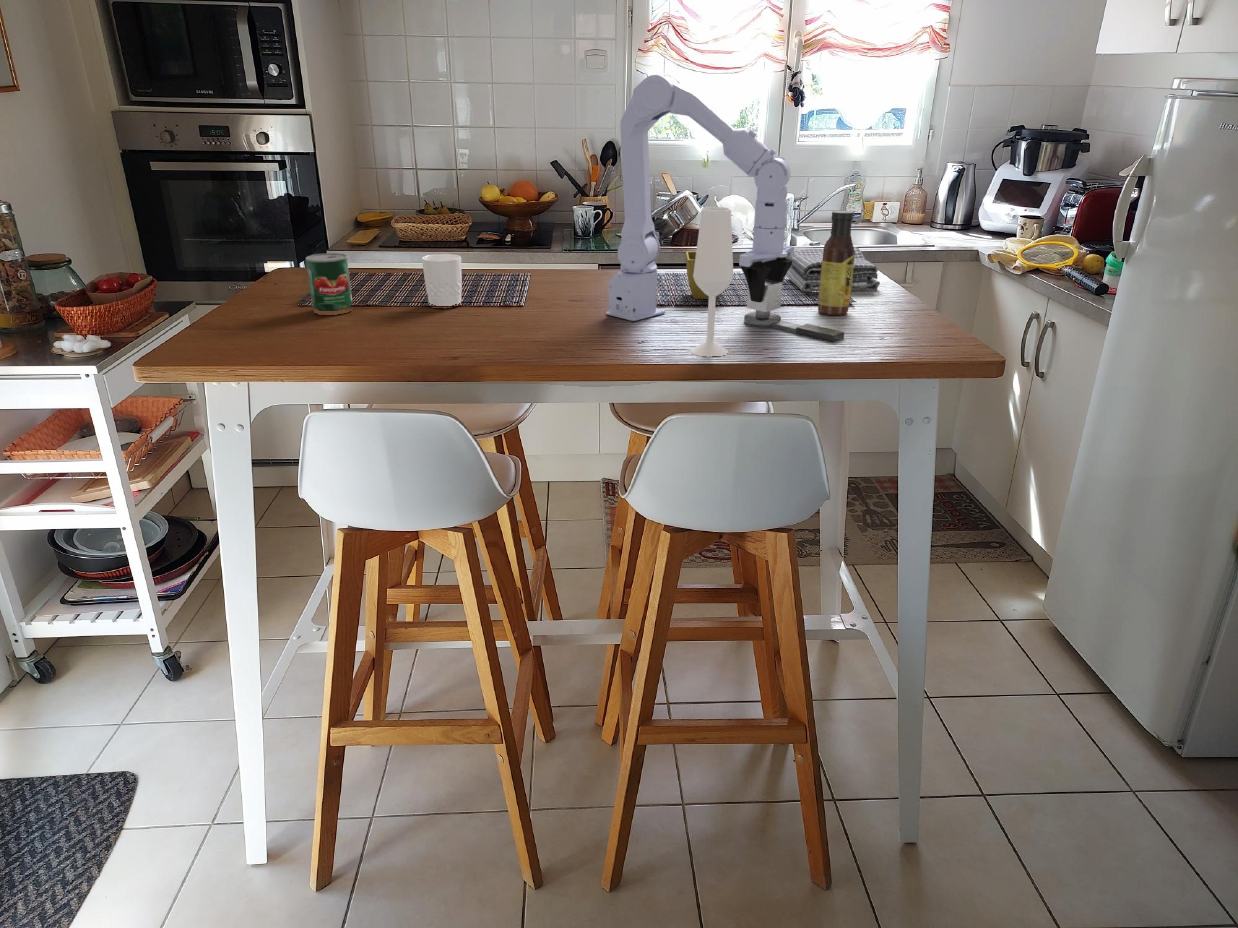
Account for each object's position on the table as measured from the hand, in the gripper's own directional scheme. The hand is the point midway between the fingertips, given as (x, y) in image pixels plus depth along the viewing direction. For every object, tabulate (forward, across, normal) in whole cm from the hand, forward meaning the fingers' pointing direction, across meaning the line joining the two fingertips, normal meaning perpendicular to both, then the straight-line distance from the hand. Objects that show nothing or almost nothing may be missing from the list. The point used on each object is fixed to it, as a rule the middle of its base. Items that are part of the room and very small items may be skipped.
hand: (764, 299), depth 163 cm
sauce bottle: (+5, +17, -5) cm, 18 cm away
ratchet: (+5, 0, -7) cm, 8 cm away
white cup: (+5, -36, +55) cm, 66 cm away
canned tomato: (+5, -55, +67) cm, 87 cm away
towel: (+5, +39, +9) cm, 40 cm away
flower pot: (+5, +9, +22) cm, 24 cm away
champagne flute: (+5, -22, -5) cm, 23 cm away
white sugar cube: (+2, 0, 0) cm, 2 cm away
